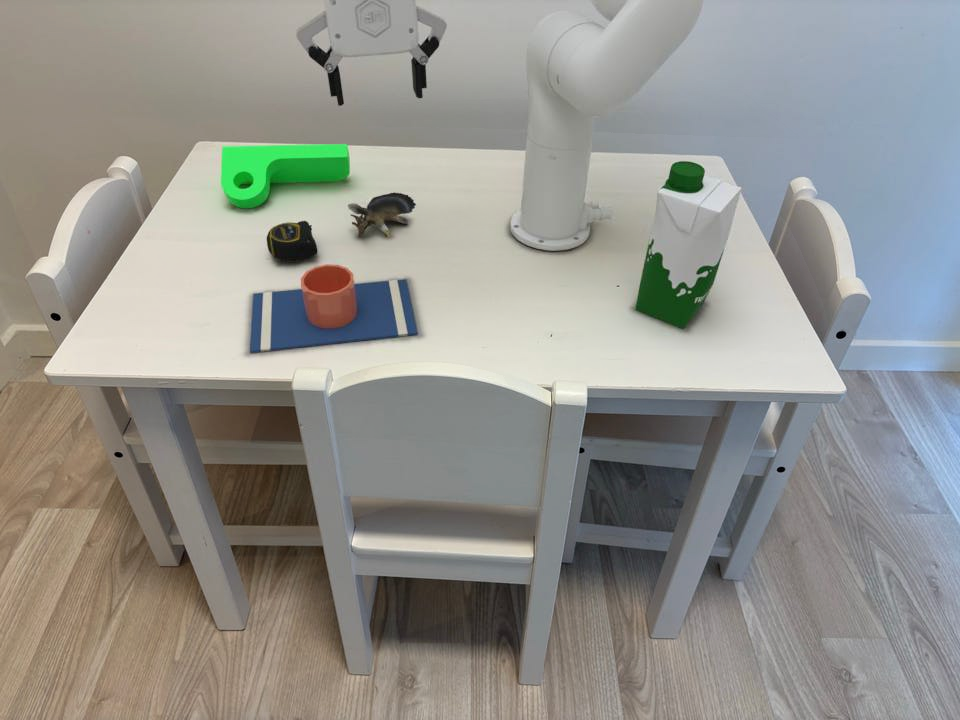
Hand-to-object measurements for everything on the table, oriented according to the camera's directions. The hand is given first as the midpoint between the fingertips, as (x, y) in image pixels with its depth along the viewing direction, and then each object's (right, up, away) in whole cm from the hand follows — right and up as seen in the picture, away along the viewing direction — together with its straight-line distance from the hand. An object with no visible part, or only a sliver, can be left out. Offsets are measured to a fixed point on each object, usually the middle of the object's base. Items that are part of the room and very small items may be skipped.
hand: (379, 97), depth 85 cm
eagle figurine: (-3, -12, +23) cm, 26 cm away
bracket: (-19, -5, +30) cm, 36 cm away
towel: (-7, -26, +7) cm, 28 cm away
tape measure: (-15, -16, +18) cm, 28 cm away
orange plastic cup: (-7, -26, +6) cm, 28 cm away
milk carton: (+39, -25, +10) cm, 47 cm away
